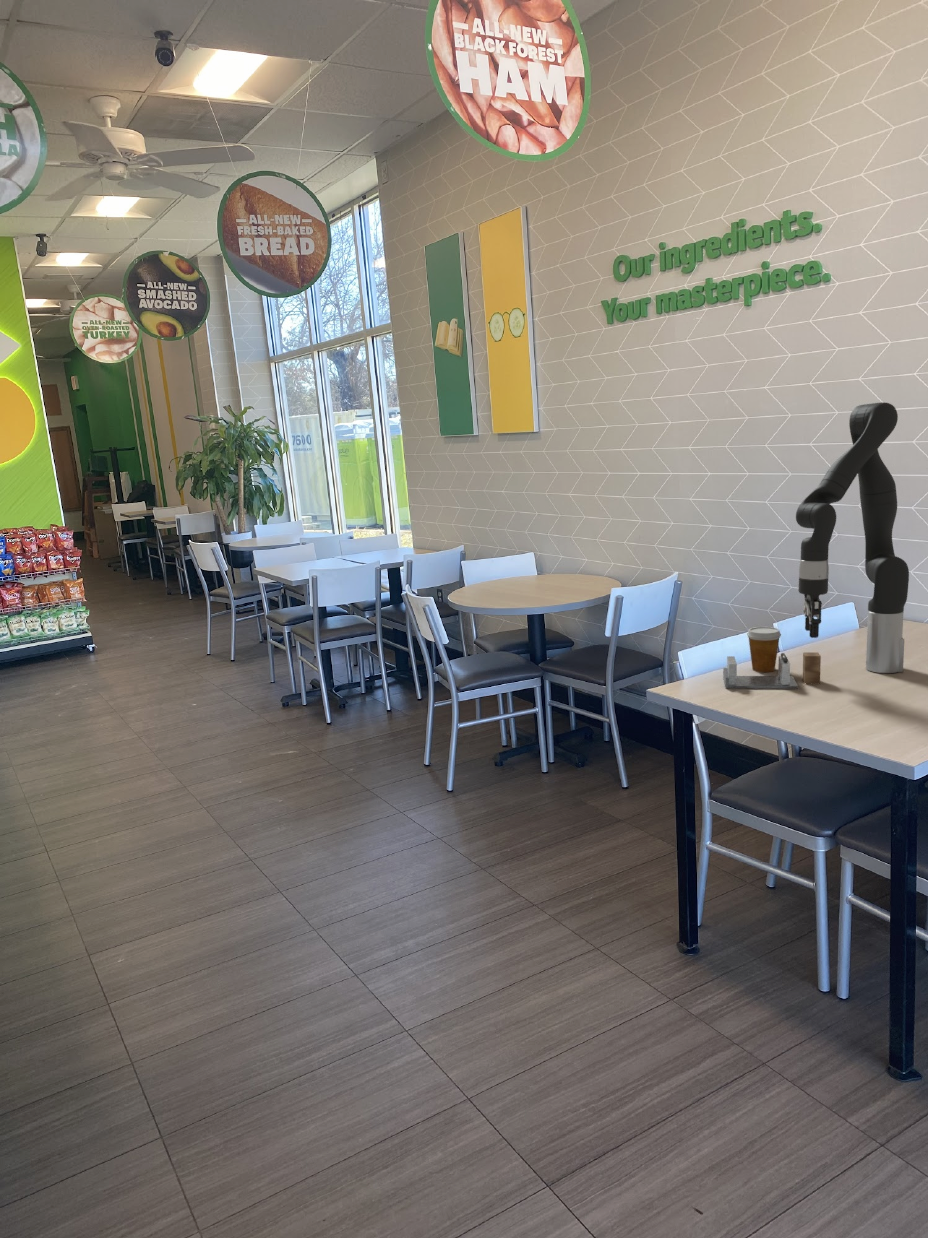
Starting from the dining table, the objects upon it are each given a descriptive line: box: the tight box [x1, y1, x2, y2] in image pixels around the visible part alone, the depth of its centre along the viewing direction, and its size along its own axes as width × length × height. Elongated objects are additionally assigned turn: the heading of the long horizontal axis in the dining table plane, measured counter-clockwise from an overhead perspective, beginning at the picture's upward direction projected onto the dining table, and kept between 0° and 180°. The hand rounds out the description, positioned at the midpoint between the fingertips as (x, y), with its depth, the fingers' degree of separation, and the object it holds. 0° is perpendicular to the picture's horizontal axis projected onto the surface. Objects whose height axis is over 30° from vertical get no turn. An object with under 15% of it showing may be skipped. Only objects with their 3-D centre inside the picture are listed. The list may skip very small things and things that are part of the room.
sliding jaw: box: [777, 652, 791, 685], centre depth 251 cm, size 2×8×7 cm, turn 168°
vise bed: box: [722, 656, 799, 690], centre depth 252 cm, size 19×10×7 cm, turn 78°
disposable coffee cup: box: [746, 626, 782, 673], centre depth 265 cm, size 10×10×12 cm
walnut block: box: [802, 651, 822, 685], centre depth 251 cm, size 4×4×8 cm
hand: (811, 633), depth 249 cm, fingers open, 8 cm apart
